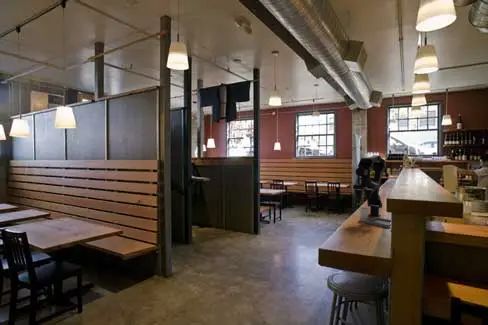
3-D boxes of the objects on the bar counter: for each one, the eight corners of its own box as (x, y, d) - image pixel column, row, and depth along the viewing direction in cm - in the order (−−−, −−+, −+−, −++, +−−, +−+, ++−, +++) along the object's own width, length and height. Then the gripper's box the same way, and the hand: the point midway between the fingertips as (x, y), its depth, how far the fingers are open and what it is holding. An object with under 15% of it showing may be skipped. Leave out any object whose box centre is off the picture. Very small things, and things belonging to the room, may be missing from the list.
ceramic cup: (362, 219, 211) (362, 207, 210) (369, 220, 207) (369, 208, 206) (358, 220, 207) (358, 208, 207) (365, 221, 204) (365, 209, 203)
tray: (376, 220, 208) (376, 217, 208) (399, 224, 197) (400, 221, 197) (365, 223, 198) (365, 220, 198) (388, 228, 187) (388, 225, 187)
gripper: (369, 177, 194) (367, 202, 194) (384, 178, 206) (383, 201, 205) (353, 175, 203) (351, 199, 203) (369, 176, 214) (367, 199, 214)
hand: (364, 200), depth 206 cm, fingers open, 9 cm apart
